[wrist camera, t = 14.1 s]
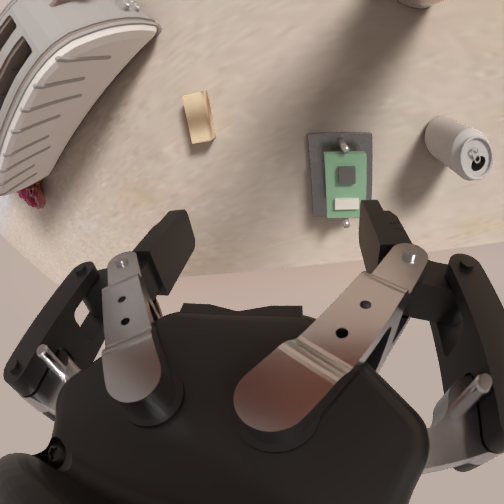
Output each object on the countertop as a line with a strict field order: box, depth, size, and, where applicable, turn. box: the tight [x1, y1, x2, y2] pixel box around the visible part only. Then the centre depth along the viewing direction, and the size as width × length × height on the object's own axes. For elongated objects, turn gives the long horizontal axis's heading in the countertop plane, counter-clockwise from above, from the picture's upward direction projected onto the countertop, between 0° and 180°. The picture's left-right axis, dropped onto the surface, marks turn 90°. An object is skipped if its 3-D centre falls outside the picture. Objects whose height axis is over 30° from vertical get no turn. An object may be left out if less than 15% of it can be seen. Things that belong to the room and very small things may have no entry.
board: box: [324, 151, 367, 218], centre depth 37 cm, size 10×6×2 cm, turn 8°
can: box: [425, 117, 493, 180], centre depth 29 cm, size 8×8×12 cm
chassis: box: [307, 132, 372, 228], centre depth 39 cm, size 14×10×6 cm
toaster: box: [0, 0, 162, 196], centre depth 27 cm, size 21×45×22 cm, turn 126°
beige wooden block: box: [182, 91, 216, 144], centre depth 38 cm, size 8×3×3 cm, turn 8°
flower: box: [17, 179, 46, 209], centre depth 49 cm, size 11×10×10 cm
